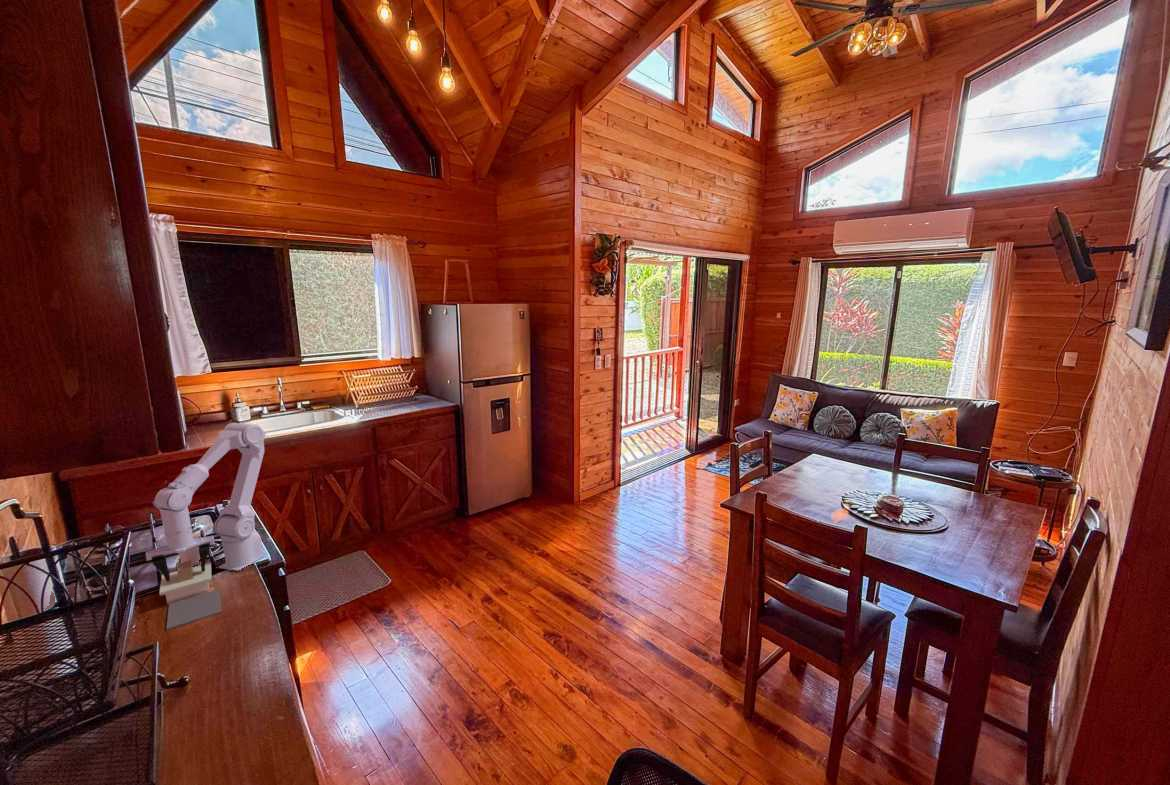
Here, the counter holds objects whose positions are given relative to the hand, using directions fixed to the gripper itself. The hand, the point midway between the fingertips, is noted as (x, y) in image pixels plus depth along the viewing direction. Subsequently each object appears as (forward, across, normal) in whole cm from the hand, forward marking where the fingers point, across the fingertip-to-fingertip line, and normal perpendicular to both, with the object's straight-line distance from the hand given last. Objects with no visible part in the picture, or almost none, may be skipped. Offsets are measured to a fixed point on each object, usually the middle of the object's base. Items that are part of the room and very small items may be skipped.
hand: (186, 574), depth 136 cm
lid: (+1, 0, 0) cm, 1 cm away
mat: (+5, +2, -12) cm, 13 cm away
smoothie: (+5, 0, +16) cm, 16 cm away
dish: (+5, 0, 0) cm, 5 cm away
